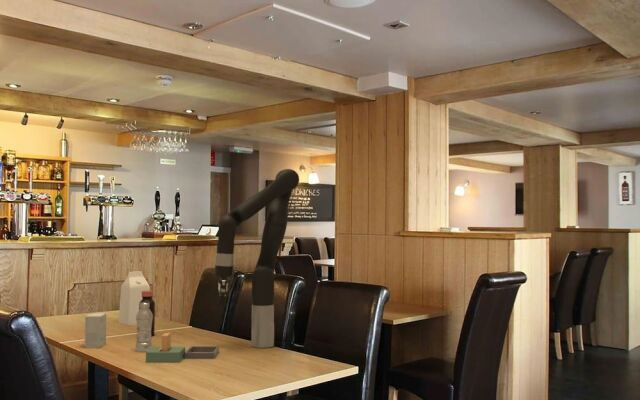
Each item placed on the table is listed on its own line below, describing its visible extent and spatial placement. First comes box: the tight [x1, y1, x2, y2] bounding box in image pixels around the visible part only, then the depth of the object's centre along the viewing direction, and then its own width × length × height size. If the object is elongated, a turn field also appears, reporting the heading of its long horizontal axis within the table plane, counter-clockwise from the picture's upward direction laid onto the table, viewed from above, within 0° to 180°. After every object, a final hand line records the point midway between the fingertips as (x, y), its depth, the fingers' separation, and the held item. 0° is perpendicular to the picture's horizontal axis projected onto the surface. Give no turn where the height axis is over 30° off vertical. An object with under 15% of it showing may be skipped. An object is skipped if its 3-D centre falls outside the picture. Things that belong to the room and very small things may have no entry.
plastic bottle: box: [135, 302, 154, 353], centre depth 237 cm, size 6×7×20 cm
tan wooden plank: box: [161, 332, 172, 351], centre depth 222 cm, size 2×6×9 cm, turn 1°
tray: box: [183, 345, 220, 360], centre depth 229 cm, size 11×12×4 cm
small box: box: [84, 312, 107, 349], centre depth 251 cm, size 8×6×13 cm
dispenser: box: [145, 346, 186, 364], centre depth 222 cm, size 12×10×5 cm
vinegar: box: [139, 290, 156, 337], centre depth 275 cm, size 7×7×20 cm
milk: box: [118, 270, 151, 326], centre depth 308 cm, size 12×12×26 cm
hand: (221, 304), depth 249 cm, fingers open, 8 cm apart
